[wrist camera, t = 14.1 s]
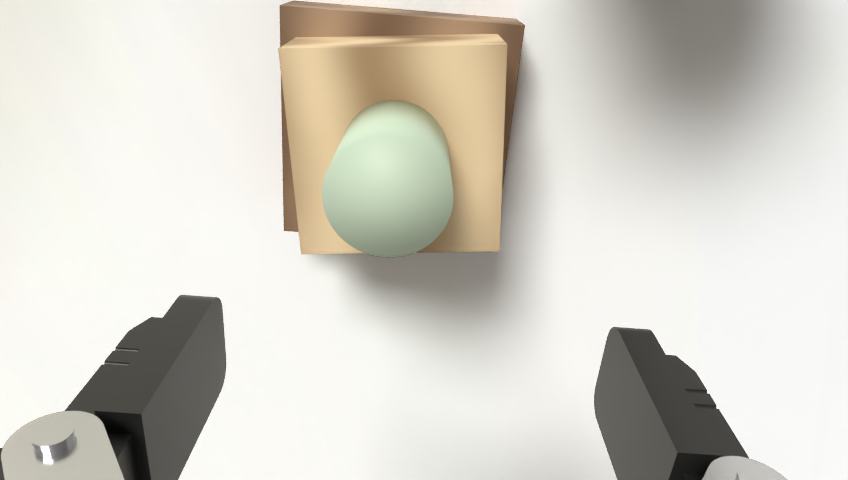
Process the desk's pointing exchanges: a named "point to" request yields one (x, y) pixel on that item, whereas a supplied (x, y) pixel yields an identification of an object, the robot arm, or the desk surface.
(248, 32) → the desk surface
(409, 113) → the green capsule
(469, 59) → the oak top block
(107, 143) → the desk surface
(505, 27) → the walnut base block
